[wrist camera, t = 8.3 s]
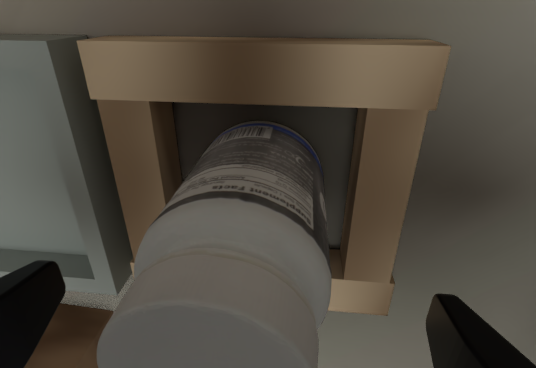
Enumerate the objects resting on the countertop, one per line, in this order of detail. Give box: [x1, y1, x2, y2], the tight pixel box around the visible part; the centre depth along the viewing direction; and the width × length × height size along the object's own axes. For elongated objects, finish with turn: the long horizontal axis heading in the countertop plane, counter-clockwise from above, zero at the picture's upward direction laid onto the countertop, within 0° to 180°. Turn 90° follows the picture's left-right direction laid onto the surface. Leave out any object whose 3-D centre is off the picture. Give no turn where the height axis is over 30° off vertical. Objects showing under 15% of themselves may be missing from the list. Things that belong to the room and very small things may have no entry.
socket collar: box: [77, 36, 451, 316], centre depth 13 cm, size 10×10×2 cm
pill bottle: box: [97, 121, 332, 368], centre depth 10 cm, size 5×5×8 cm
